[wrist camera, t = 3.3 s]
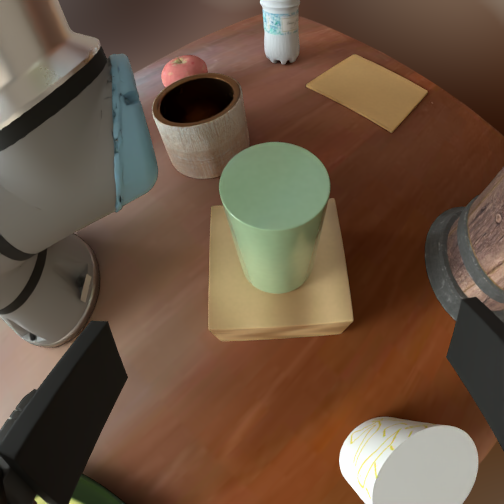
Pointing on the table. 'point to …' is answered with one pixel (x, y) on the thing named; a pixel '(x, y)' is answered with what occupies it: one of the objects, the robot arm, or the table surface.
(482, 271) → the tankard
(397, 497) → the cup
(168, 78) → the apple
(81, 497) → the plate
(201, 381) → the table surface
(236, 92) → the planter
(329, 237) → the plate
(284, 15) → the bottle
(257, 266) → the canister
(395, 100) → the cork mat
